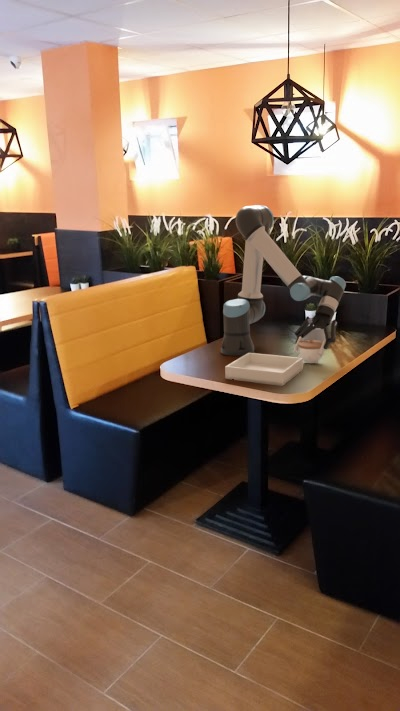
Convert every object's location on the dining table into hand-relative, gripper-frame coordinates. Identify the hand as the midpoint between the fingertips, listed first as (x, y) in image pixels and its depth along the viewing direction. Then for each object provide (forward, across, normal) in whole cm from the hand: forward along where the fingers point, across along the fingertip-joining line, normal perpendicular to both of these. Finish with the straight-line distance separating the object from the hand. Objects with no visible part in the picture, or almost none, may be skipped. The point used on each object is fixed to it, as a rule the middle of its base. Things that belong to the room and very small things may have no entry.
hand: (307, 353), depth 245 cm
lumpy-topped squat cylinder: (-23, +18, -31) cm, 43 cm away
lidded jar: (+1, 0, -5) cm, 5 cm away
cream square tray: (+18, +8, +10) cm, 22 cm away
